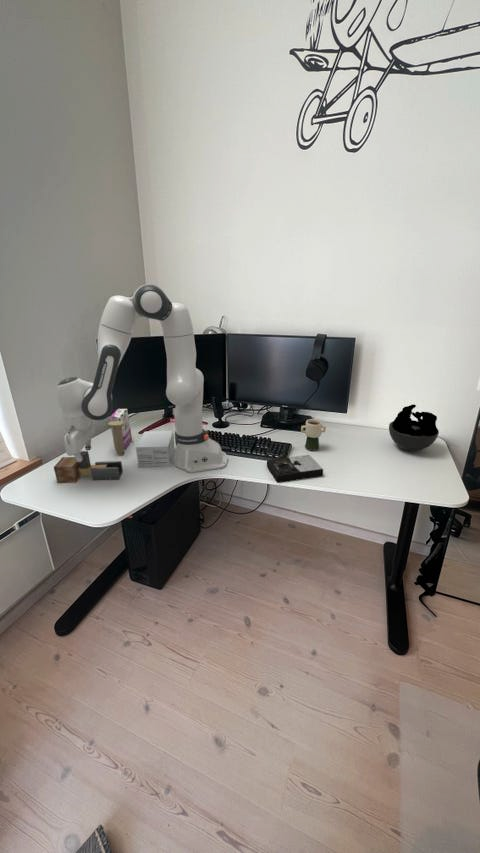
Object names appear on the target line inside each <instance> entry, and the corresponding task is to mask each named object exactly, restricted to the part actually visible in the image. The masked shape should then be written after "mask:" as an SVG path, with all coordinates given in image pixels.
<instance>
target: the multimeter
mask: <svg viewBox="0 0 480 853" xmlns="http://www.w3.org/2000/svg"><path fill="white" fill-rule="evenodd" d="M266 468H267V470H268V471H269V473H270V475H271V476H272V477H273V479H274V481H275V482H276V483H277V484H278V483H285V482H286V483H287V482H292V481H294V482H295V481H298V480H299V481H300V480H306V479H313V478H321V477H323V476H324V469H323V468H322V467H321V466H320V464H318V462H317V461H316V460H315V459H314V458H313V457H312V456H311V454H303V455H302V454H301V455H296V456H295V455H294V456H288V457H282V458H281V457H280V458H272V459H271V458H270V459H267V460H266Z"/></svg>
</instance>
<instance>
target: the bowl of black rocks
mask: <svg viewBox="0 0 480 853" xmlns="http://www.w3.org/2000/svg"><path fill="white" fill-rule="evenodd" d="M416 407H417V405H416V404H410V405H407V406H404V407H402V408H401V409H402V410H400V411H399V412H398V414H397V415H396V417H395V418H394V420H393V421H392V422H389V425H388V432H389V436H390V437H391V439H392V441H393V442H394V443H395V444H396V445H397V446H398V447H400V448H402V449H404V450H407V451H421V450H425V449H427V448H429V447H430V446H431V445H432V444H434V443H435V441H436V440H437V439H438V437H439V434H440V433H439V429H438V427H437V419H438V416H437V415H435V414H433V413H432V412H429V411H421V412H419V411H414V412H413V409H415V408H416ZM412 416H413V417H414V418H416V419H417V420H413V419H412Z"/></svg>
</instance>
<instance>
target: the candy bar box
mask: <svg viewBox="0 0 480 853" xmlns="http://www.w3.org/2000/svg"><path fill="white" fill-rule="evenodd" d="M108 419H109V422H112V421H122V422H124V426H123V427H121V432H122V436H123V441H124V451H126V450H127V448H128V447H129V446H130V444H131V443H132V441H133V437H132V430H131V425H130V423H131V422H130V418H129V412H128V408H117V409H116V410H115V411H114V412H112V413H111V415H110V416H109V417H108ZM110 429H111V430H110V431H111V435H112V439H113V442H114V435H113V429H112V428H110ZM113 445H114V444H113ZM114 450H115V451H116V449H115V445H114Z"/></svg>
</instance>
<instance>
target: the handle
mask: <svg viewBox="0 0 480 853" xmlns="http://www.w3.org/2000/svg"><path fill="white" fill-rule="evenodd" d="M107 424H108V425H107V426H108V428H110V429H111V428H112V429H113V435H114V441H113V445H115V447H114V450H115V449H116V450H115V452H116V455H117V456H124V454H125V450H124V441H123V436H122V432H121V427H123V426H124V422H122V421H112V422H110V421H109V422H108V423H107ZM113 435H112V436H113Z"/></svg>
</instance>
